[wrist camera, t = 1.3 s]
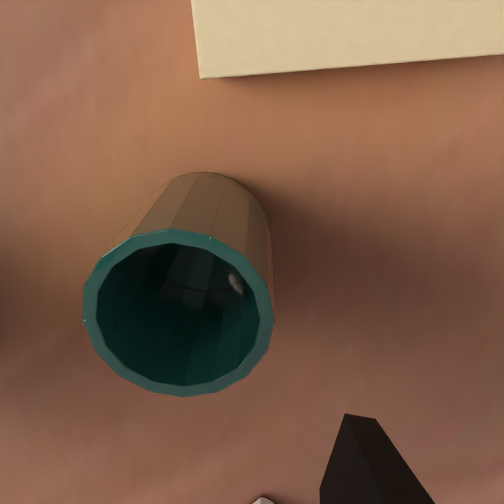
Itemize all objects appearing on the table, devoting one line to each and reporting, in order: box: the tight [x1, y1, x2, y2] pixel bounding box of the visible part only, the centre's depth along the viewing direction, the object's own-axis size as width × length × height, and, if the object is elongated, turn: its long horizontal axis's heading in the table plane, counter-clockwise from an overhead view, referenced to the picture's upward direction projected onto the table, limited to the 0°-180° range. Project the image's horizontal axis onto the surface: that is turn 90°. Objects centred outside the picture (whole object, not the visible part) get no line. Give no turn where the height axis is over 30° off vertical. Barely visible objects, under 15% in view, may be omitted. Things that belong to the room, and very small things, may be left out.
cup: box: [82, 173, 275, 397], centre depth 16 cm, size 5×5×6 cm
